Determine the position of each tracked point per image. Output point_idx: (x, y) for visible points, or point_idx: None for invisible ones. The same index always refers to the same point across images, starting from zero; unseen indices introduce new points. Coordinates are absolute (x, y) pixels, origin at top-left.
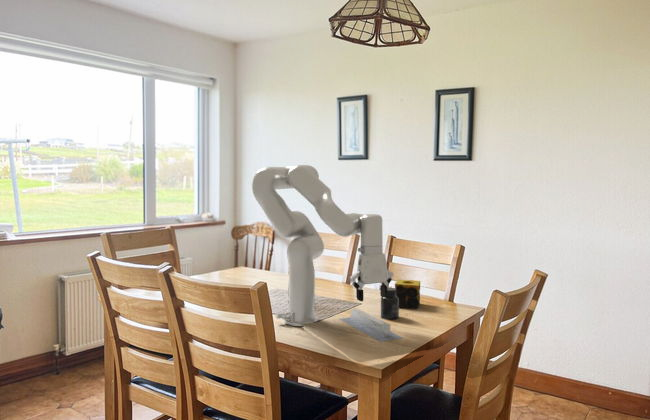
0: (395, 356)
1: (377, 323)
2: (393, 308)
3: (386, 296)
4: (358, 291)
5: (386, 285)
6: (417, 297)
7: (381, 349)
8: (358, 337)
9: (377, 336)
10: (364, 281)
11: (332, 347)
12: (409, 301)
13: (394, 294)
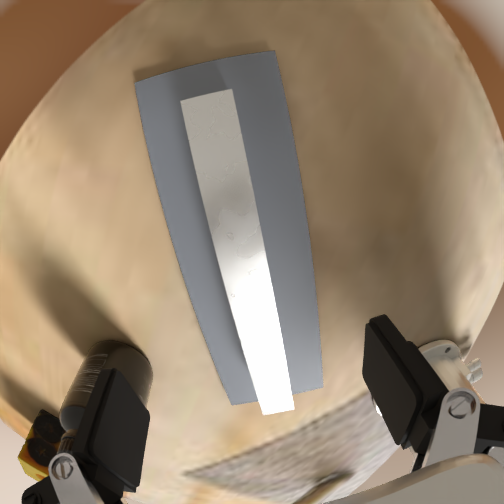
0: None
1: (248, 168)
2: (91, 379)
3: (103, 374)
4: (441, 388)
5: (73, 464)
6: (31, 433)
7: (287, 15)
8: (331, 188)
9: (259, 126)
10: (499, 472)
11: (454, 114)
12: (55, 435)
13: (68, 434)
